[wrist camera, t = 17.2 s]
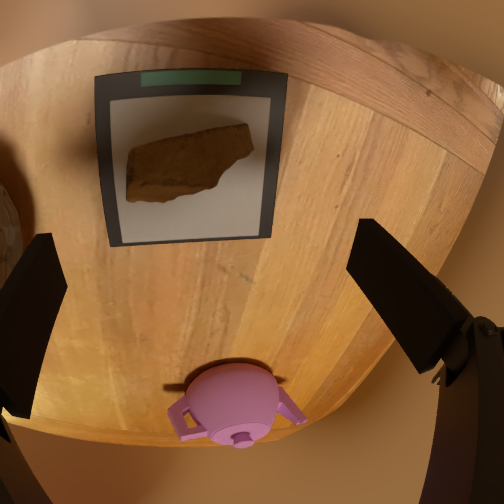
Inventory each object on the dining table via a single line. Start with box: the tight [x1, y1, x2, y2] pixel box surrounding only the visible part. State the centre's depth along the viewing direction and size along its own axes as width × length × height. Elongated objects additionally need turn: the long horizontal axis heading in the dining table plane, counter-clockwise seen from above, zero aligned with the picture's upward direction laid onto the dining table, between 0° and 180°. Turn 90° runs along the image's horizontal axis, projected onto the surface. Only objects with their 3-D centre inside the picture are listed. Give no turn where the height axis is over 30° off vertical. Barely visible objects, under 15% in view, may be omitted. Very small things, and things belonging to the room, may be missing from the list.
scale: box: [95, 68, 288, 247], centre depth 25 cm, size 16×16×4 cm
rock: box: [126, 123, 254, 203], centre depth 21 cm, size 11×9×10 cm
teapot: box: [168, 363, 307, 448], centre depth 43 cm, size 22×16×12 cm
